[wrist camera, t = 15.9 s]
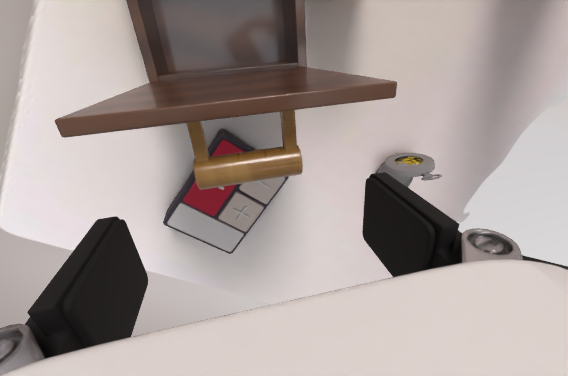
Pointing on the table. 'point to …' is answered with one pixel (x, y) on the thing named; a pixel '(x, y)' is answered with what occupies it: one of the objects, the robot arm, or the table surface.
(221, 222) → the calculator
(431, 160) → the pocket watch
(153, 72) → the chest
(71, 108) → the table surface
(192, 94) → the lid
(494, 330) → the robot arm
